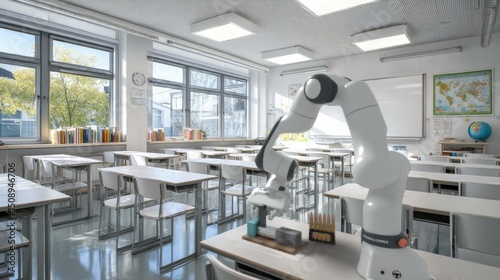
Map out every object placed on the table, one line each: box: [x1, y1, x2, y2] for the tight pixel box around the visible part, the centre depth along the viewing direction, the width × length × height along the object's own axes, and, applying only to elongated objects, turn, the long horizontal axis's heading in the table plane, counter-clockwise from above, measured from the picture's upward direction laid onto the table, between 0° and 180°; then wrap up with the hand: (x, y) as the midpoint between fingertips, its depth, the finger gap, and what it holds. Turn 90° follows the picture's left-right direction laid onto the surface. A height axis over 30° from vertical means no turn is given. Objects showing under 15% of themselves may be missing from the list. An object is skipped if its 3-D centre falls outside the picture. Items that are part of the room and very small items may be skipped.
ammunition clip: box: [308, 211, 337, 246], centre depth 119 cm, size 11×2×12 cm, turn 64°
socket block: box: [246, 217, 258, 237], centre depth 126 cm, size 4×7×6 cm, turn 141°
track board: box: [241, 226, 309, 255], centre depth 120 cm, size 24×12×6 cm, turn 50°
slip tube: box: [256, 204, 279, 239], centre depth 122 cm, size 14×3×12 cm, turn 50°
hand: (260, 217), depth 123 cm, fingers open, 8 cm apart
